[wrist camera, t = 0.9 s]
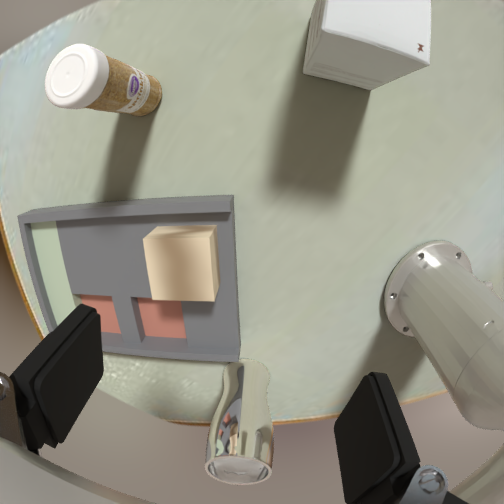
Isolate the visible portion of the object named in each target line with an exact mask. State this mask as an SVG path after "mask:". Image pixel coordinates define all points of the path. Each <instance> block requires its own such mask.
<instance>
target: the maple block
mask: <svg viewBox="0 0 504 504" xmlns="http://www.w3.org/2000/svg"><path fill="white" fill-rule="evenodd" d="M143 244H144V251H145V258H146V265H147V271H148V277H149V283H150V289H151V294H152V300H174V301H215V298H216V295H217V292H218V289H219V286H220V268H219V253H218V238H217V225H189V226H157V227H156V228H155V229H154V230H153V231H151V232H150V233H149V234H148V235H147V236H146V237H144V238H143Z"/></svg>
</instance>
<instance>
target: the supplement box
mask: <svg viewBox="0 0 504 504" xmlns="http://www.w3.org/2000/svg"><path fill="white" fill-rule="evenodd" d="M430 40H431V0H316V2H315V5H314V7H313V10H312V13H311V20H310V27H309V33H308V40H307V47H306V53H305V60H304V67H303V74H307V75H312V76H316V77H320V78H325V79H329V80H333V81H337V82H341V83H345V84H349V85H353V86H357V87H360V88H364V89H367V90H370V91H371V90H373V89H375V88H377V87H380V86H382V85H384V84H386V83H389V82H391V81H393V80H395V79H398V78H400V77H402V76H405V75H407V74H409V73H412V72H414V71H417V70H419V69H422V68H424V67H426V66H429V65H430Z"/></svg>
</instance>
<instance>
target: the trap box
mask: <svg viewBox="0 0 504 504" xmlns="http://www.w3.org/2000/svg"><path fill="white" fill-rule="evenodd" d="M18 222H19V227H20V232H21V237H22V242H23V246H24V251H25V255H26V259H27V263H28V267H29V271H30V275H31V278H32V282H33V285H34V289H35V292H36V295H37V299H38V302H39V305H40V308H41V311H42V314H43V317H44V320H45V322H46V325H47V328H48V331H49V333H50V332H52V331H54V329H55V328H56V327H57V326H58V325H59V324H60V323H61V322H62V321H63V320H64V319H65V318H66V317H67V316H68V315H69V314H70V313H71V312H72V311H73V310H74V309H75V308H76V307H77V306H78V305H79V304H85V305H88V306H90V307H93V308H95V309H96V310H97V313H98V314H100V316H101V337H102V351H104V352H112V353H120V354H128V355H137V356H147V357H158V358H169V359H183V360H200V361H223V362H239V355H240V347H241V340H240V322H239V304H238V284H237V264H236V242H235V219H234V195H213V196H188V197H168V198H151V199H136V200H123V201H110V202H98V203H88V204H77V205H68V206H58V207H49V208H41V209H33V210H31V211H28V212H26V213H23V214H21V215H19V216H18ZM189 225H217V238H218V253H219V268H220V286H219V289H218V292H217V295H216V298H215V301H174V300H152V294H151V289H150V283H149V277H148V271H147V265H146V258H145V251H144V244H143V238H144V237H146V236H147V235H148V234H149V233H150V232H151V231H153V230H154V229H155V228H156V227H157V226H189Z"/></svg>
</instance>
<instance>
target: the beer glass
mask: <svg viewBox="0 0 504 504" xmlns="http://www.w3.org/2000/svg"><path fill="white" fill-rule="evenodd" d="M223 380H224V392H223V395H222V398H221V401H220V403H219V405H218V407H217V410H216V412H215V414H214V417H213V420H212V422H211V425H210V430H209V434H208V440H207V448H206V462H205V471H206V472H207V474H209V475H210V476H211V477H212V478H214V479H216V480H219V481H221V482H225V483H229V484H235V485H250V484H256V483H260V482H263V481H265V480H266V479H268V478H269V477H270V476H271V474H272V462H273V453H274V430H273V424H272V419H271V414H270V410H269V406H268V401H267V389H268V385H269V381H270V373H269V370H268V369H267V367H266V366H265V365H264V364H262V363H260V362H258V361H256V360H252V359H239V362H231V363H229V364H228V365H227V366H226V368H225V370H224V373H223Z"/></svg>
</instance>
